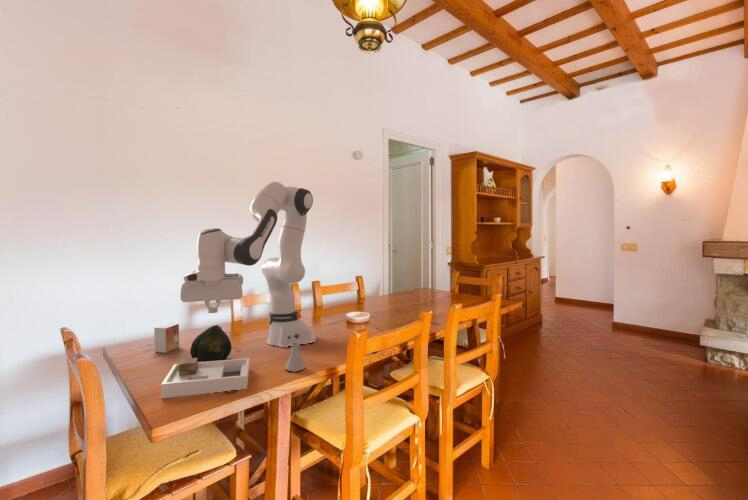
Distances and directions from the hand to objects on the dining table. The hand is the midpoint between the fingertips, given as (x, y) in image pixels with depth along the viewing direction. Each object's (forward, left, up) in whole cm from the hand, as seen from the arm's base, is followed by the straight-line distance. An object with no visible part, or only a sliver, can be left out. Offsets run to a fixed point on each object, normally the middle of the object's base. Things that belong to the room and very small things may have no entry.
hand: (213, 312), depth 130 cm
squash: (+2, -12, -23) cm, 26 cm away
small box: (+22, -32, -23) cm, 45 cm away
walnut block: (+7, +5, -19) cm, 21 cm away
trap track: (0, +8, -22) cm, 24 cm away
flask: (-29, +3, -23) cm, 37 cm away
